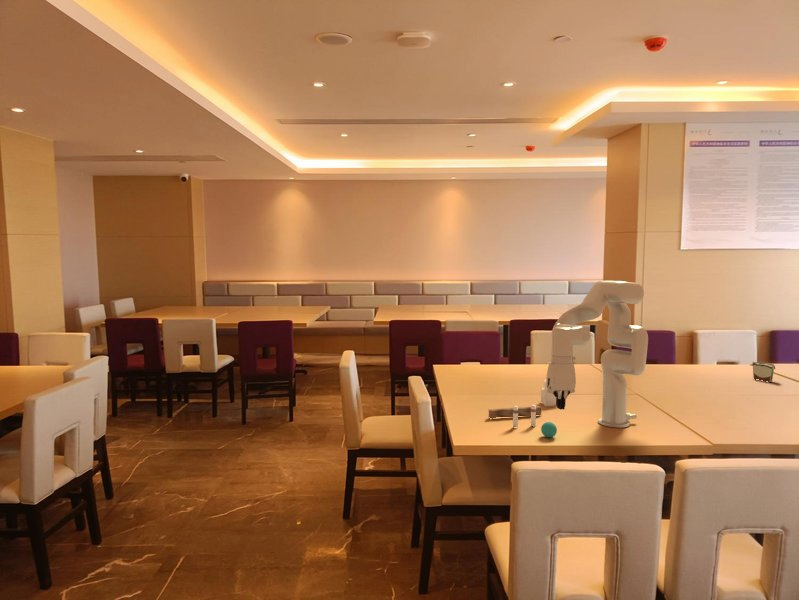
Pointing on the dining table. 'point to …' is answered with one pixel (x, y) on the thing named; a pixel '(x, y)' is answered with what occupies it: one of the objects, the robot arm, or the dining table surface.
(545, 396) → the medicine bottle
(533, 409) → the pin
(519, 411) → the back wall
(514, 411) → the pin
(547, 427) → the ball
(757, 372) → the food container
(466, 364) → the dining table surface
